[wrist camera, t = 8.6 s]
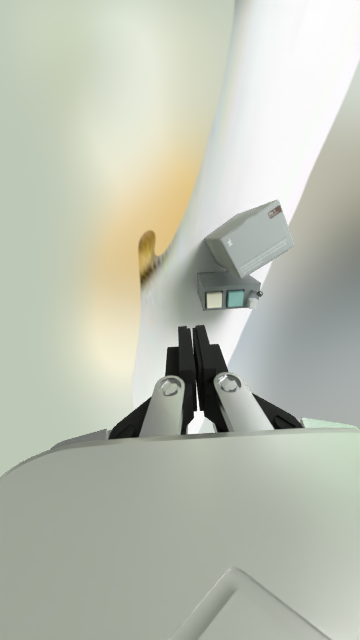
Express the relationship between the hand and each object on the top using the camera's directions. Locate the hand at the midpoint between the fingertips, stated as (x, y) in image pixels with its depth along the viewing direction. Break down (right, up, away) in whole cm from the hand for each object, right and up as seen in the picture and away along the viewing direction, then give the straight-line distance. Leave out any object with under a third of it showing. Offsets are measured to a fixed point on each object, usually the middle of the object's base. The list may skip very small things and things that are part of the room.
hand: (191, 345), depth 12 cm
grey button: (+12, +5, +21) cm, 25 cm away
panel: (+8, +10, +30) cm, 33 cm away
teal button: (+9, +7, +23) cm, 26 cm away
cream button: (+5, +6, +23) cm, 25 cm away
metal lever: (+12, +7, +20) cm, 25 cm away
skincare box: (+9, +19, +26) cm, 33 cm away
